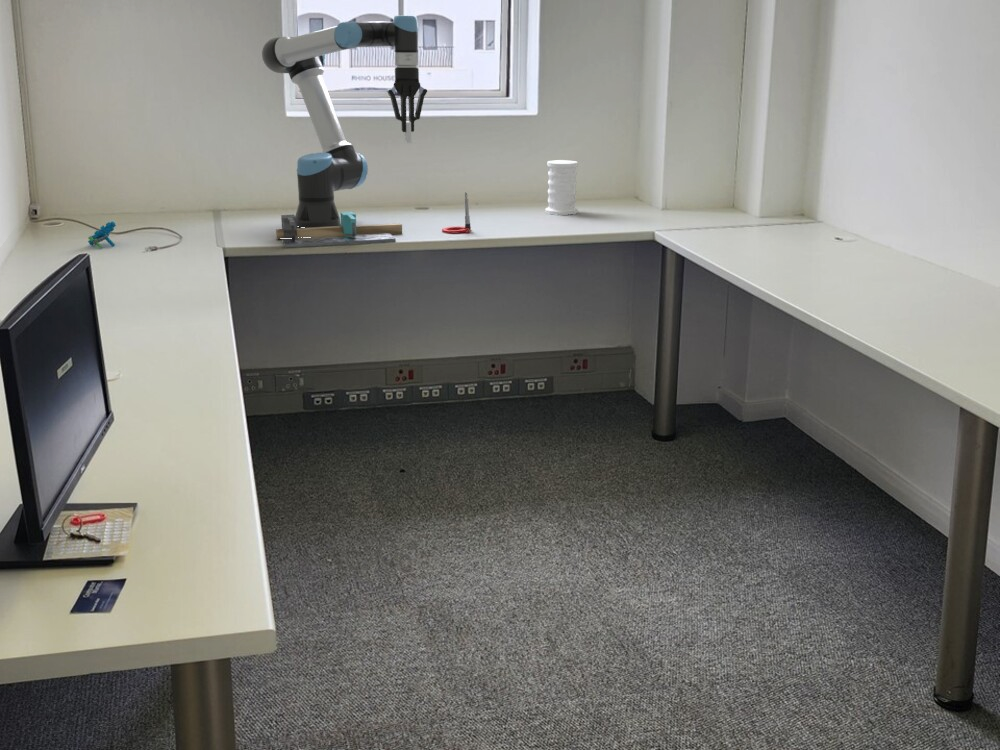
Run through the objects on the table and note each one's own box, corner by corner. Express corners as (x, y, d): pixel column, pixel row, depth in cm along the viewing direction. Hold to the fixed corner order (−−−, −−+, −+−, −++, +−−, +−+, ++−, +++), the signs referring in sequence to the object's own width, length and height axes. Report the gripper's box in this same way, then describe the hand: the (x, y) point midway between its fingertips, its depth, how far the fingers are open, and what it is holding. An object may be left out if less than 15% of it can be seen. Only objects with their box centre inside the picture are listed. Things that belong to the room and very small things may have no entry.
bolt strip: (282, 242, 351) (282, 238, 350) (389, 236, 360) (389, 233, 360) (285, 247, 342) (285, 244, 342) (395, 241, 352) (395, 238, 352)
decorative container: (574, 215, 399) (575, 164, 394) (542, 214, 402) (543, 163, 396) (579, 210, 410) (581, 160, 404) (548, 209, 412) (549, 159, 407)
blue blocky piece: (103, 236, 350) (117, 215, 344) (117, 250, 350) (131, 230, 345) (79, 247, 341) (93, 226, 335) (93, 261, 341) (107, 241, 336)
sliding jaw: (341, 231, 363) (340, 212, 361) (353, 230, 364) (352, 211, 362) (348, 238, 352) (347, 218, 350) (360, 237, 353) (360, 218, 351)
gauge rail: (276, 237, 357) (274, 215, 355) (399, 231, 369) (399, 209, 366) (280, 245, 346) (279, 222, 344) (408, 238, 357) (407, 215, 355)
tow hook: (441, 235, 366) (469, 234, 366) (438, 195, 362) (467, 194, 362) (443, 230, 374) (471, 229, 374) (441, 191, 370) (469, 190, 370)
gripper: (388, 67, 351) (390, 144, 358) (429, 66, 355) (430, 142, 362) (383, 66, 358) (385, 141, 365) (423, 65, 361) (425, 140, 369)
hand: (408, 142), depth 363 cm, fingers closed
